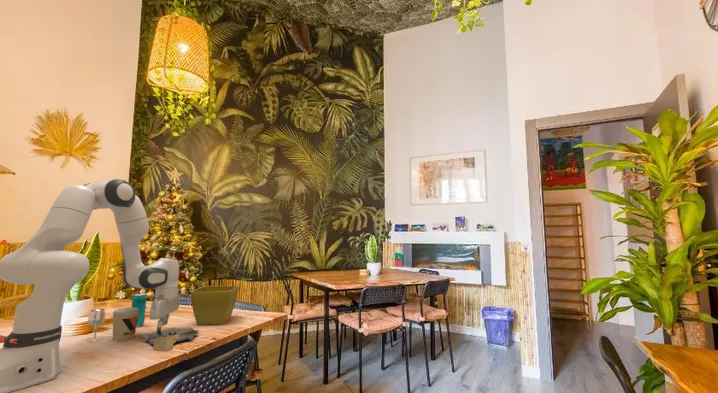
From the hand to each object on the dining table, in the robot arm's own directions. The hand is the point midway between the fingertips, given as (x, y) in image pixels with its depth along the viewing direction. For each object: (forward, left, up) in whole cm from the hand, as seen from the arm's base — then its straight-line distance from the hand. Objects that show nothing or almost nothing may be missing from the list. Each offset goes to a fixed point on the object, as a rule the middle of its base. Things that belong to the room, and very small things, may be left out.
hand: (163, 325), depth 148 cm
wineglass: (-15, +21, -4) cm, 26 cm away
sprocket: (-4, -9, -4) cm, 11 cm away
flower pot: (+25, -6, -4) cm, 26 cm away
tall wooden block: (-15, -16, -4) cm, 22 cm away
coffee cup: (-10, +11, -4) cm, 15 cm away
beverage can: (+6, +23, -4) cm, 24 cm away
